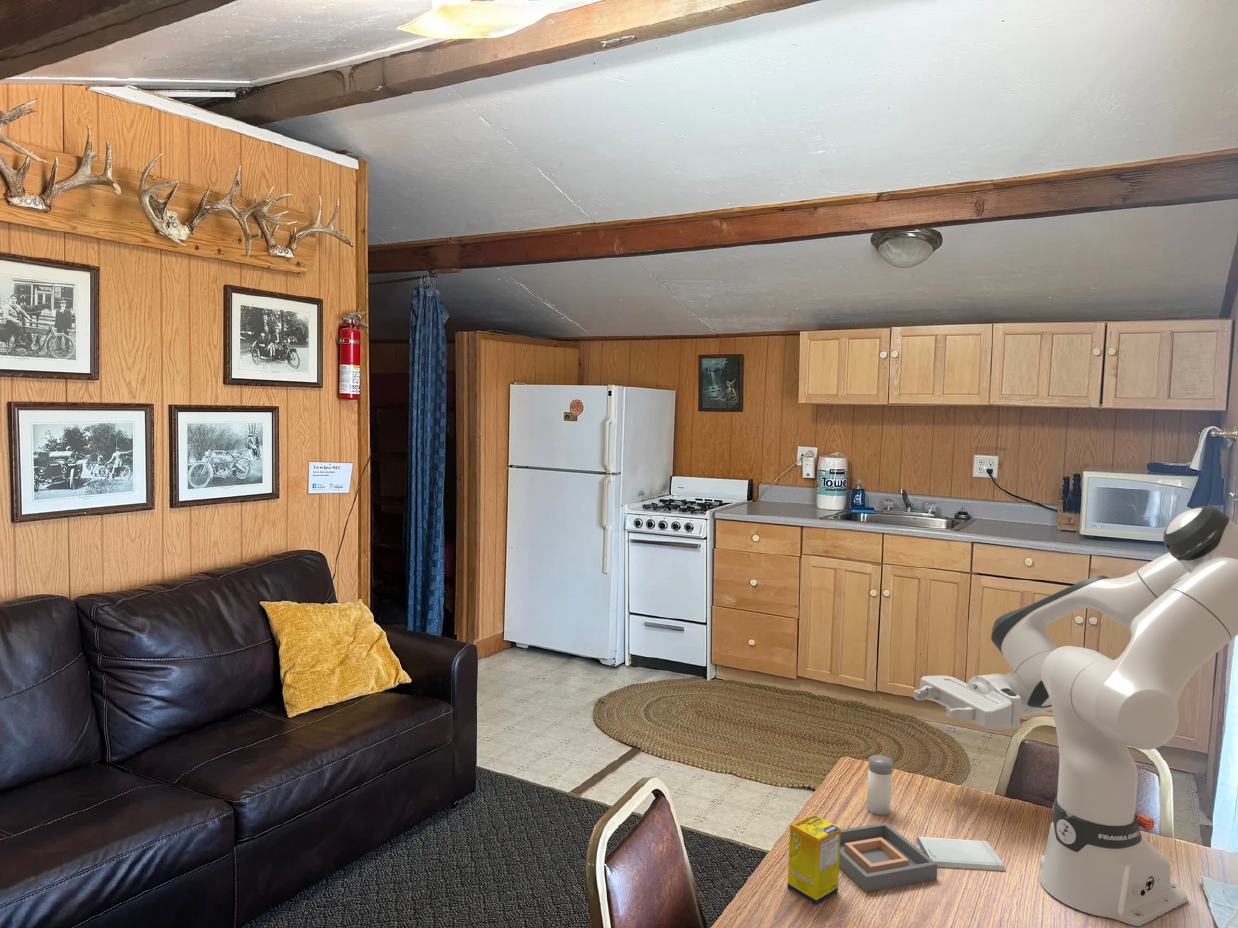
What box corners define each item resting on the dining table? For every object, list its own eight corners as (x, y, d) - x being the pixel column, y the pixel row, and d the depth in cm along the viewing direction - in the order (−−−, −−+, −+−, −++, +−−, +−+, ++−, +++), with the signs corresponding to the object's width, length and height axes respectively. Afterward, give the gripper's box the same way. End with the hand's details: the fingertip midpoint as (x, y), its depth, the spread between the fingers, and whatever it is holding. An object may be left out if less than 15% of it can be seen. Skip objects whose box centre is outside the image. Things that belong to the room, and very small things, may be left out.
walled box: (884, 836, 153) (885, 822, 153) (936, 878, 140) (937, 864, 140) (818, 847, 149) (819, 833, 148) (865, 892, 135) (866, 877, 135)
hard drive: (931, 860, 144) (1005, 864, 143) (916, 835, 152) (986, 839, 151) (930, 869, 144) (1004, 873, 143) (916, 844, 152) (986, 847, 151)
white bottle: (880, 802, 166) (883, 753, 165) (894, 813, 162) (897, 763, 161) (861, 805, 165) (864, 756, 164) (875, 816, 160) (878, 765, 160)
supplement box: (808, 875, 140) (812, 812, 139) (838, 892, 135) (842, 827, 134) (785, 887, 136) (789, 823, 135) (815, 905, 131) (819, 839, 131)
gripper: (953, 665, 179) (898, 671, 175) (1027, 700, 160) (968, 707, 155) (951, 694, 180) (897, 700, 175) (1025, 732, 160) (966, 740, 156)
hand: (931, 704), depth 165 cm, fingers open, 8 cm apart
